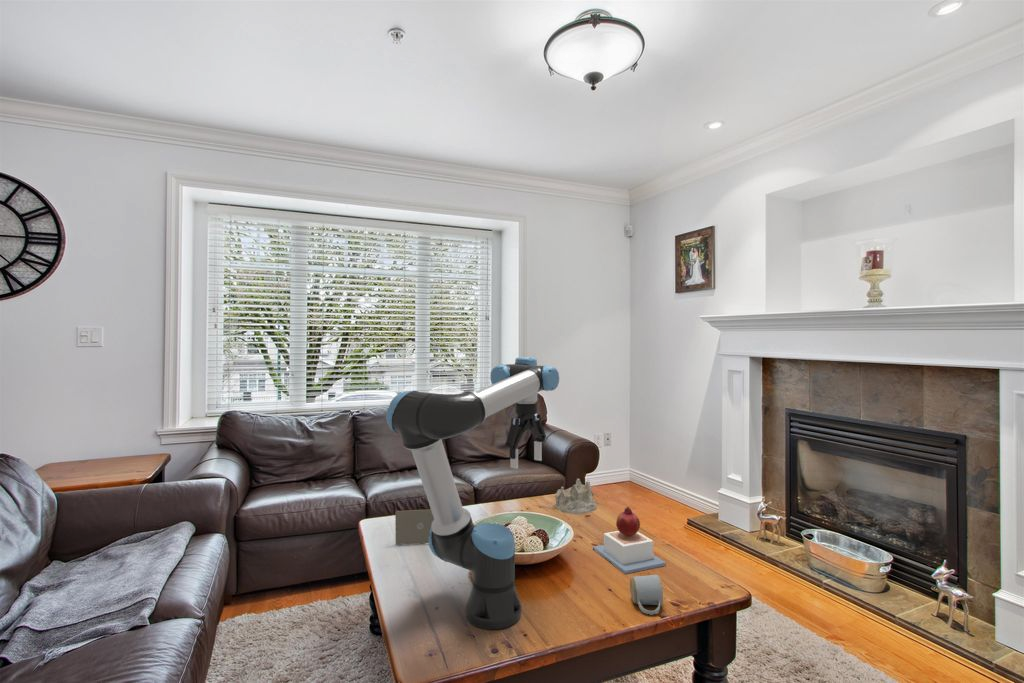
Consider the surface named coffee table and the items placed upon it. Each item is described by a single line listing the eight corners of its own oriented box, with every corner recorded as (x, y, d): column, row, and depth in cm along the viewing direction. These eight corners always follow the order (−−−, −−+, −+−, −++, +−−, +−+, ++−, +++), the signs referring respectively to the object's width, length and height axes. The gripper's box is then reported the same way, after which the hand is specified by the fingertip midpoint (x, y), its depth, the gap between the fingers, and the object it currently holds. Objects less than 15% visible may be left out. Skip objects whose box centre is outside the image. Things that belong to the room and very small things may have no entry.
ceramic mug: (628, 595, 147) (628, 570, 147) (656, 595, 147) (656, 570, 147) (637, 616, 137) (637, 588, 136) (667, 616, 136) (667, 589, 136)
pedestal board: (665, 565, 166) (665, 543, 166) (625, 574, 160) (625, 551, 160) (630, 542, 185) (630, 522, 185) (592, 549, 179) (592, 529, 179)
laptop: (444, 530, 198) (444, 497, 198) (445, 543, 185) (444, 508, 185) (398, 533, 195) (398, 500, 195) (395, 546, 183) (395, 511, 183)
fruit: (643, 534, 174) (643, 506, 174) (634, 542, 167) (634, 512, 167) (621, 529, 178) (621, 501, 178) (612, 537, 172) (612, 508, 172)
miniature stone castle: (601, 508, 221) (599, 474, 221) (573, 517, 212) (570, 482, 212) (578, 501, 234) (576, 469, 234) (550, 509, 225) (548, 476, 225)
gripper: (538, 397, 183) (538, 455, 183) (494, 405, 164) (494, 469, 164) (555, 399, 179) (555, 458, 179) (512, 407, 159) (512, 473, 159)
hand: (526, 464), depth 171 cm, fingers open, 13 cm apart
